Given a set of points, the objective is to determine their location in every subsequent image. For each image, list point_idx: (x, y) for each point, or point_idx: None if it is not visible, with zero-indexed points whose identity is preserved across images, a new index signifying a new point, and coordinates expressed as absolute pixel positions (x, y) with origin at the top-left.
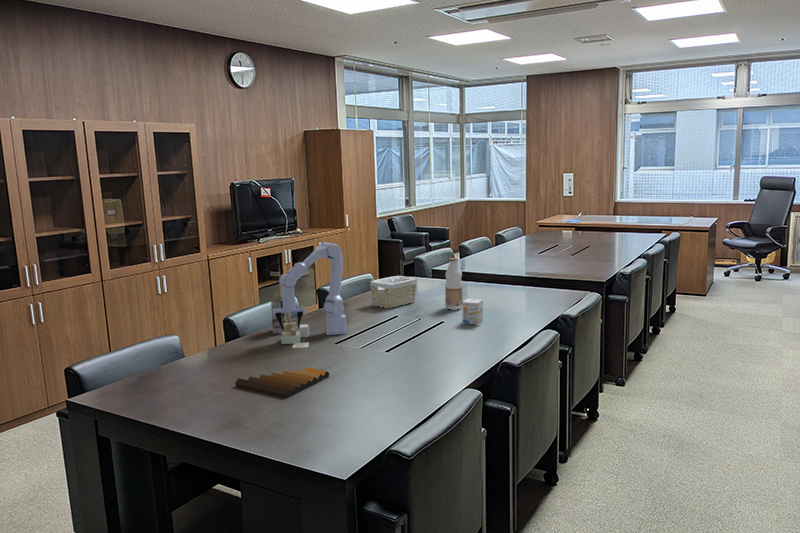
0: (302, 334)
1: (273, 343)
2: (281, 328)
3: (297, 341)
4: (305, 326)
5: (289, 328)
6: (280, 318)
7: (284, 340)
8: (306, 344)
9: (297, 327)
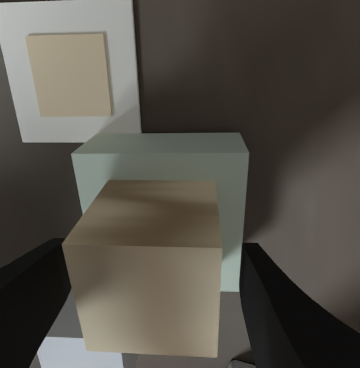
0: None
1: (304, 178)
2: (254, 246)
3: (104, 138)
4: (56, 354)
5: (152, 216)
6: (304, 345)
7: (214, 141)
8: (27, 85)
9: None
